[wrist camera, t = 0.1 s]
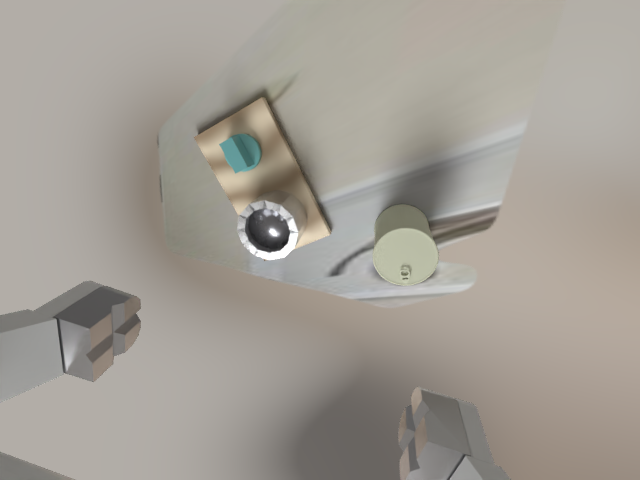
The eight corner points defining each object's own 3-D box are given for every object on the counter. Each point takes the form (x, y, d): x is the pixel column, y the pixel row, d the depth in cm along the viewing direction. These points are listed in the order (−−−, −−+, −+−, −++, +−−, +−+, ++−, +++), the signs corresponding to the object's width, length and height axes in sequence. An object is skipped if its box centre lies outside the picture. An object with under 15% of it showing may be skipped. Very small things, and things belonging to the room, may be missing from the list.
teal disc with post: (221, 143, 55) (208, 146, 51) (250, 127, 53) (239, 128, 49) (239, 175, 57) (228, 181, 53) (268, 161, 55) (258, 165, 51)
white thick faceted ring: (258, 183, 57) (242, 193, 50) (312, 199, 56) (303, 211, 50) (249, 234, 61) (234, 249, 54) (300, 249, 60) (290, 266, 54)
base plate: (198, 136, 57) (193, 137, 56) (264, 97, 53) (261, 97, 51) (267, 257, 64) (264, 261, 62) (331, 231, 59) (330, 234, 58)
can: (375, 254, 59) (374, 288, 48) (372, 205, 56) (370, 230, 45) (428, 253, 57) (439, 287, 47) (429, 202, 54) (440, 226, 43)
